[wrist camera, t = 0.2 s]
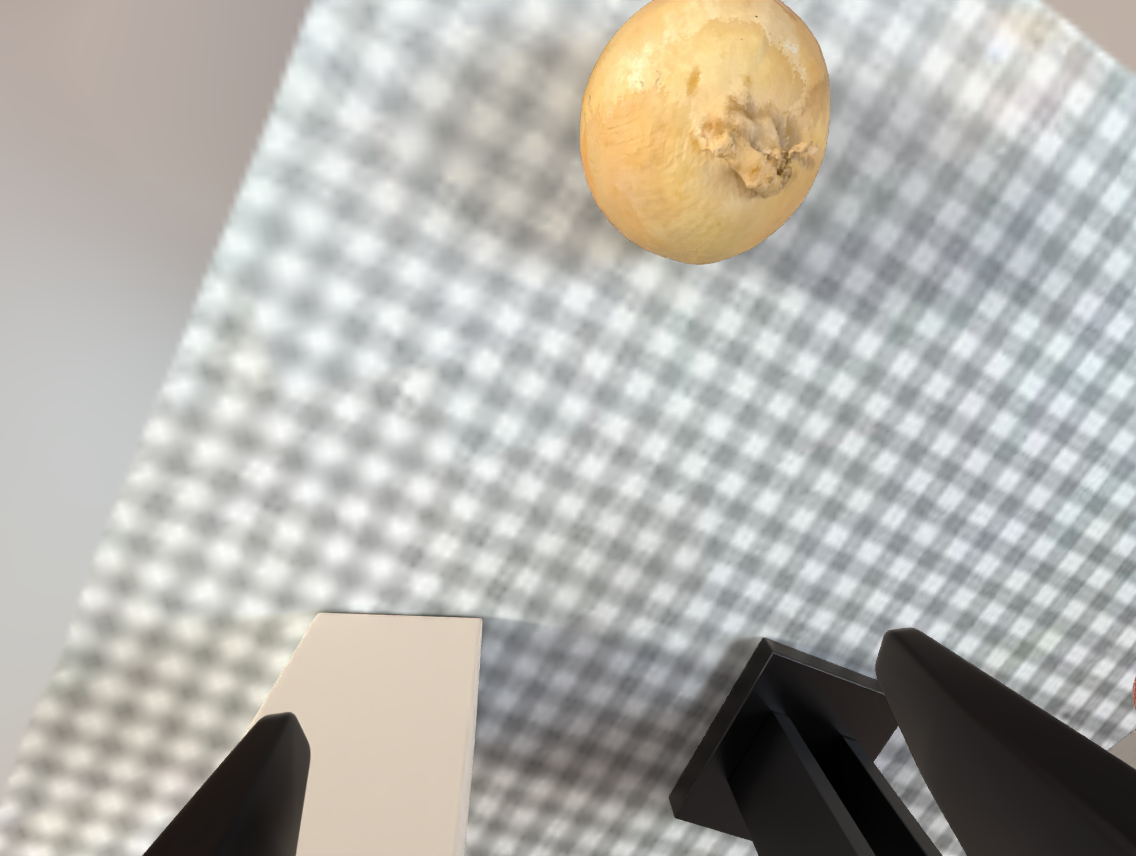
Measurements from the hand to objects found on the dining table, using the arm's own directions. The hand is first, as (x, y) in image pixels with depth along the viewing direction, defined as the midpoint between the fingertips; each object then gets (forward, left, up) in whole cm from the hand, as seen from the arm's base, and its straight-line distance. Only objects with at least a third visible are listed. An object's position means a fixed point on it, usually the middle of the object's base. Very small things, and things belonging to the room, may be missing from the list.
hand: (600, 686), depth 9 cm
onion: (+12, +2, -16) cm, 20 cm away
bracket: (-7, -19, -15) cm, 26 cm away
